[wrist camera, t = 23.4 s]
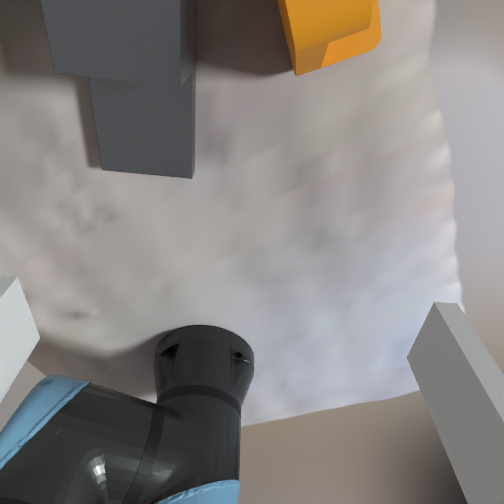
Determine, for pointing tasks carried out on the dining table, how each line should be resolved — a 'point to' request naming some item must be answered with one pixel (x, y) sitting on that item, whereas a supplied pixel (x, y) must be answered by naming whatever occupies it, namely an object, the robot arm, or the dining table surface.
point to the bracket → (328, 30)
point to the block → (133, 77)
